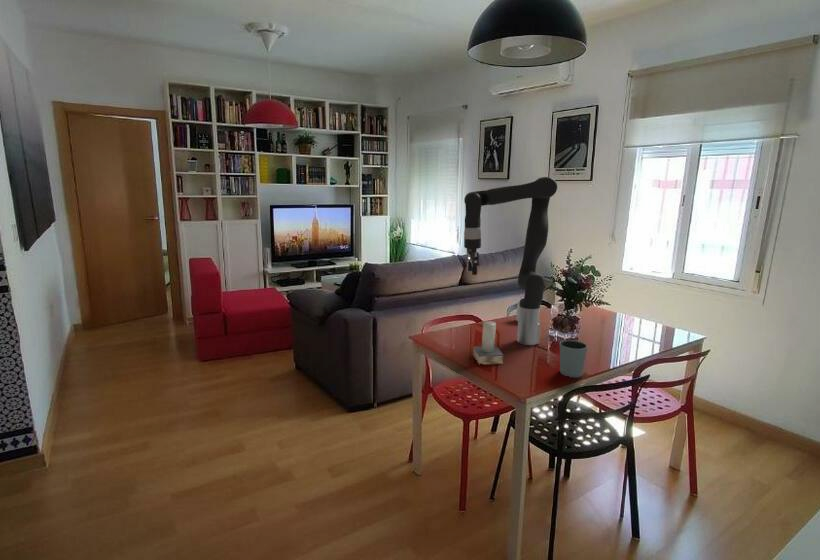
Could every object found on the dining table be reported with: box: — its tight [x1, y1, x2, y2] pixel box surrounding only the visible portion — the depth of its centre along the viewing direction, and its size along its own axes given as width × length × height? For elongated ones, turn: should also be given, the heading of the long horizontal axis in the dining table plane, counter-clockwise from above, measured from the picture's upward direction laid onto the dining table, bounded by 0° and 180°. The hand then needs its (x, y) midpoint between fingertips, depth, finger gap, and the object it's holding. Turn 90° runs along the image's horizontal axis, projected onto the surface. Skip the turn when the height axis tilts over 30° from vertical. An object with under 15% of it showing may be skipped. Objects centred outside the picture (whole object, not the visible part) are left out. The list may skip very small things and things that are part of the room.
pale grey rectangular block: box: [481, 320, 497, 353], centre depth 189 cm, size 5×5×12 cm
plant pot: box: [559, 339, 588, 379], centre depth 177 cm, size 10×10×12 cm
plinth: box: [472, 345, 504, 366], centre depth 190 cm, size 10×10×4 cm
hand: (472, 272), depth 207 cm, fingers open, 8 cm apart
